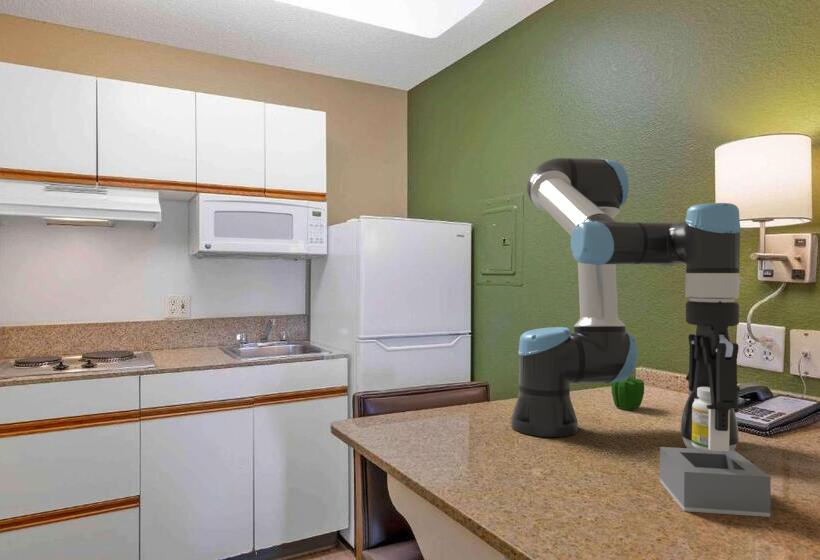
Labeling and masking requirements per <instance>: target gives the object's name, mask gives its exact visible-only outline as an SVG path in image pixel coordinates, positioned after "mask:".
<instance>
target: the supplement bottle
mask: <svg viewBox="0 0 820 560" xmlns="http://www.w3.org/2000/svg"><path fill="white" fill-rule="evenodd" d="M697 396H698V397H699V399H698V400H695V401H694V402H693V404H692V446H693V447H694V448H696V449H698V450H701V451H705V452H710V453H725V452H727V451H714V450H709V449H708V428H709V409H708V408H707V405H711V394H710V387H698V388H697ZM729 442H730V410H729Z"/></svg>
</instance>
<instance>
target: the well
mask: <svg viewBox="0 0 820 560" xmlns="http://www.w3.org/2000/svg"><path fill="white" fill-rule="evenodd" d="M659 481H660V483H661V484H662V486H663V487H664V488H665V489H666V491H667V493H669V494H670V496H671V497H672V498H673V499H674V501H675V502H676V504H678V506H679V507H680V508H681V509H682V510H683V512H689V513H691V512H692V513H693V512H694V513H707V514H720V515H734V516H735V515H736V516H752V517H764V518H770V517H771V494H772V493H771V491H772V490H771V485H772V484H771V481H772V477H771V475H769V474H767V473H766V472H765V471H763V470H762V469H760V468H759V467H758V466H757V465H755V464H754V463H752V462H751V461H750V460H748V459H747V458H745V457H744V456H743V455H741V454H740V453H738V452H737V451H736V450H734V451H733V450H729V451H727V452H725V453H710V452H705V451H701V450H698V449H693V448H687V447H669V446H668V447H667V446H659Z"/></svg>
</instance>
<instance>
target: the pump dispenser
mask: <svg viewBox="0 0 820 560" xmlns="http://www.w3.org/2000/svg"><path fill="white" fill-rule="evenodd" d="M738 392H741V387H740V386H739V385H737V393H738ZM694 399H696V398H694V397H693V391H691V393H690V395H689V394H688V397H687V399H686V402H685V404H684V407H683V411H682V416H681V421H680V422H681V423H680V431H679V432H680V435H681V438H682V441H683V443H684V445H685V448H693V449H696V448H694V447H693V446H692V404H693V402H694ZM738 426H739V425H738V420H737V416H736V412H735V408H732V409H731V410H730V442H729V450H733V451H736V450H735V449H736V447H737V445H738V443H739V441H740V437H739V436H740V435H739V428H738Z"/></svg>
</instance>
